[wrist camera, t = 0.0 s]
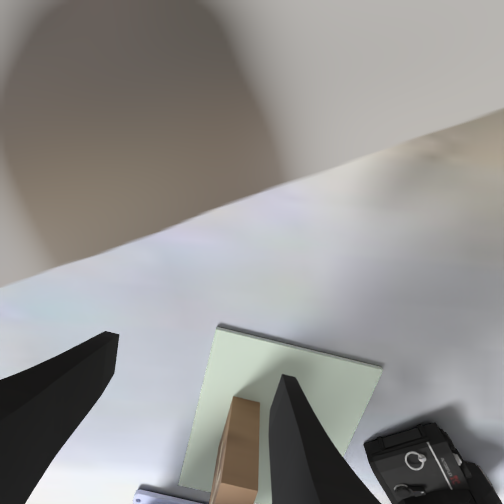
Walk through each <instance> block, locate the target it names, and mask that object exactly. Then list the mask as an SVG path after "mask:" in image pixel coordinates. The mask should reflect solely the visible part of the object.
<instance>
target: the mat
mask: <svg viewBox="0 0 504 504" xmlns="http://www.w3.org/2000/svg"><path fill="white" fill-rule="evenodd" d="M382 372H383V369H382V367H380V366H376V365H372V364H367V363H363V362H359V361H355V360H351V359H347V358H343V357H339V356H335V355H331V354H327V353H323V352H318V351H314V350H310V349H306V348H302V347H298V346H294V345H290V344H286V343H282V342H278V341H273V340H269V339H265V338H261V337H257V336H253V335H249V334H245V333H241V332H237V331H233V330H229V329H224V328H220V327H216V331H215V335H214V339H213V343H212V347H211V352H210V356H209V360H208V364H207V368H206V372H205V376H204V380H203V385H202V389H201V393H200V397H199V401H198V405H197V409H196V413H195V417H194V422H193V426H192V430H191V434H190V438H189V442H188V446H187V450H186V455H185V459H184V463H183V467H182V471H181V475H180V479H179V483H178V486H183V487H187V488H192V489H196V490H200V491H205V492H209V493H211V489H212V483H213V477H214V471H215V465H216V459H217V453H218V447H219V444H220V440H221V437H222V433H223V430H224V426H225V423H226V419H227V416H228V412H229V409H230V405H231V402H232V398H233V396H235V397H239V398H243V399H247V400H251V401H256V402H260V427H259V475H258V493H257V496H256V498H255V501H254V503H257V504H272V491H271V474H270V457H269V438H268V433H269V414H270V408H271V405H272V402H273V399H274V396H275V393H276V390H277V387H278V384H279V381H280V378H281V375H282V374H285V375H289V376H293V377H296V379H297V380H298V382H299V384H300V386H301V388H302V390H303V392H304V394H305V396H306V398H307V400H308V402H309V404H310V405H311V407H312V409H313V411H314V413H315V414H316V416H317V418H318V420H319V421H320V423H321V425H322V427H323V428H324V430H325V432H326V433H327V435H328V436H329V438H330V439H331V441H332V442H333V444H334V445H335V447H336V448H337V450H338V451H339V453H340V454H341V455H342V457H343V456H344V454H345V452H346V450H347V447H348V445H349V443H350V441H351V439H352V437H353V434H354V432H355V430H356V428H357V426H358V424H359V421H360V419H361V417H362V415H363V413H364V411H365V408H366V406H367V404H368V402H369V400H370V398H371V396H372V393H373V391H374V389H375V387H376V385H377V383H378V380H379V378H380V376H381V374H382Z"/></svg>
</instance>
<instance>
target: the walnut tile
mask: <svg viewBox="0 0 504 504" xmlns="http://www.w3.org/2000/svg"><path fill="white" fill-rule="evenodd" d="M259 427H260V402H256V401H251V400H247V399H243V398H239V397H235V396H233V398H232V402H231V405H230V409H229V412H228V416H227V419H226V423H225V426H224V430H223V433H222V437H221V440H220V444H219V447H218V453H217V459H216V465H215V471H214V477H213V483H212V489H211V495H210V501H209V504H254V501H255V498H256V496H257V493H258V475H259Z"/></svg>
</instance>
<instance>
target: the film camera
mask: <svg viewBox="0 0 504 504" xmlns="http://www.w3.org/2000/svg"><path fill="white" fill-rule="evenodd" d="M441 432H442V433H441ZM364 448H365V451H366V454H367V458H368V461H369V464H370V466H371V468H372V471H373V473H374V474H375V476H376V478H377V480H378V481H379V483H380V485H381V486H382V488H383V490H384V491H385V493H386V495H387V496H388V498H389V500H390V501H391V503H392V504H502V502H501V500H500V498H499V497H498V495H497V494H496V492H495V490H494V488H493V487H492V484H491V482H490V481H489V479H488V478H487V476H486V475H485V474H484V472H483V471H482V469H481V468H480V466H478V465H477V466H476V465H475V464H474V463H467V462H464V461H463V459H462V457H461V456H460V454H459V452H458V451H457V449H455V447H454V445H453V443H452V441H451V439H450V438H449V437H448V435H447V433H446V432H445V433H444V431H443V430H442V429H441V431H440V430H439V428H438V426H437V424H436V423H432V424H429V425H425V426H422V425H418V428H415V429H412V430H408V431H405V432H402V433H398V434H395V435H392V436H388V437H385V438H381V437H378V438H377V440H375V441H372V442H368V443H365V444H364Z"/></svg>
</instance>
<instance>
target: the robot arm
mask: <svg viewBox="0 0 504 504" xmlns="http://www.w3.org/2000/svg"><path fill="white" fill-rule="evenodd" d="M118 341H119V334H115V333H111V332H107V331H105V332H103V333H101V334H99V335H97V336H95V337H93V338H91V339H89V340H87V341H85V342H83V343H81V344H79V345H77V346H75V347H73V348H72V349H70V350H68V351H66V352H64V353H62V354H60V355H58V356H55V357H53V358H51V359H49V360H47V361H44V362H42V363H40V364H38V365H36V366H34V367H31V368H29V369H27V370H24V371H22V372H20V373H17V374H15V375H12V376H9V377H7V378H4V379H1V380H0V504H25V503H26V501H27V499H28V498H29V496H30V495H31V493H32V491H33V490H34V488H35V487H36V485H37V483H38V482H39V480H40V479H41V477H42V476H43V474H44V473H45V471H46V469H47V468H48V466H49V465H50V463H51V462H52V460H53V459H54V457H55V456H56V455H57V453H58V452H59V450H60V449H61V448H62V446H63V445H64V444H65V442H66V441H67V440H68V439H69V437H70V436H71V435H72V433H73V432H74V431H75V429H76V428H77V427H78V425H79V424H80V423H81V422H82V420H83V419H84V418H85V416H86V415H87V414H88V412H89V411H90V410H91V408H92V407H93V406H94V404H95V403H96V402H97V400H98V399H99V398H100V396H101V395H102V393H103V392H104V390H105V388H106V387H107V385H108V383H109V382H110V380H111V378H112V376H113V375H114V372H115V364H116V356H117V348H118ZM268 438H269V457H270V474H271V491H272V504H381V503H380V502H379V501H378V500H377V499H376V497H375V496H374V495H373V494H372V493H371V492H370V491H369V489H368V488H367V487H366V486H365V485H364V483H363V482H362V481H361V480H360V479H359V477H358V476H357V475H356V474H355V472H354V471H353V470H352V469H351V467H350V466H349V465H348V463H347V462H346V461H345V459H344V458H343V457H342V455H341V454H340V453H339V451H338V450H337V448H336V447H335V445H334V444H333V442H332V441H331V439H330V438H329V436H328V435H327V433H326V432H325V430H324V428H323V427H322V425H321V423H320V421H319V420H318V418H317V416H316V414H315V413H314V411H313V409H312V407H311V405H310V404H309V402H308V400H307V398H306V396H305V394H304V392H303V390H302V388H301V386H300V384H299V382H298V380H297V379H296V377H293V376H289V375H285V374H282V375H281V378H280V381H279V384H278V387H277V390H276V393H275V396H274V399H273V402H272V405H271V408H270V414H269V433H268ZM133 504H202V503H198V502H193V501H189V500H185V499H180V498H176V497H171V496H167V495H162V494H158V493H154V492H149V491H145V490H137V491H136V492H135V495H134V499H133Z"/></svg>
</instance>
